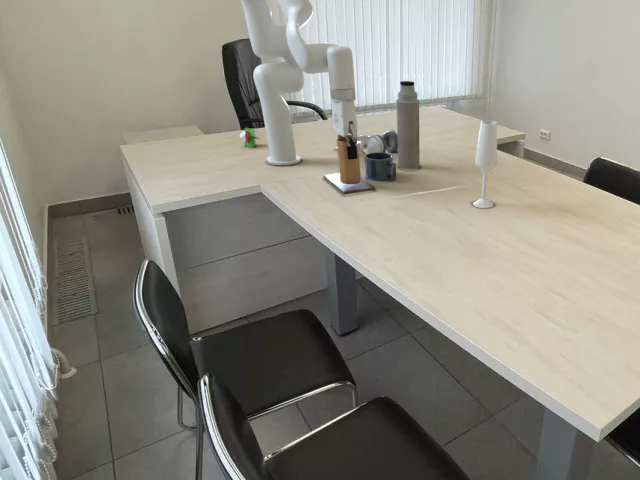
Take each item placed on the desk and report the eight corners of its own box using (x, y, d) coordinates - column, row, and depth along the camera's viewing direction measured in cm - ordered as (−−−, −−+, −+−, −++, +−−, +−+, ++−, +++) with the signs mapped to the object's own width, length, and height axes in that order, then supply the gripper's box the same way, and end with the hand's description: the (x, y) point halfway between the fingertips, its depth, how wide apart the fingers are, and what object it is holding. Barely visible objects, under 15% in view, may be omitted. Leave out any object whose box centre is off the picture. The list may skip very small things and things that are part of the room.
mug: (360, 178, 188) (358, 155, 183) (380, 172, 194) (379, 150, 189) (386, 186, 181) (385, 163, 177) (405, 180, 187) (405, 158, 182)
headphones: (410, 148, 217) (371, 146, 228) (408, 128, 213) (368, 126, 224) (374, 160, 203) (334, 157, 214) (371, 138, 199) (330, 136, 210)
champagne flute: (478, 209, 167) (483, 125, 152) (469, 202, 172) (473, 120, 157) (497, 206, 170) (504, 124, 154) (487, 199, 174) (493, 119, 159)
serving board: (323, 178, 186) (323, 175, 186) (352, 174, 191) (352, 171, 190) (344, 196, 173) (343, 192, 172) (375, 191, 178) (374, 187, 177)
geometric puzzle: (247, 136, 219) (239, 122, 211) (263, 137, 218) (255, 123, 211) (244, 151, 217) (235, 137, 210) (260, 152, 217) (251, 138, 209)
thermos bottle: (421, 165, 202) (421, 80, 184) (416, 171, 196) (415, 84, 178) (401, 163, 203) (399, 79, 186) (395, 169, 197) (393, 82, 179)
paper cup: (338, 179, 180) (333, 138, 172) (356, 177, 183) (352, 136, 175) (345, 185, 176) (341, 142, 168) (363, 182, 179) (360, 140, 170)
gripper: (321, 90, 167) (328, 150, 179) (341, 100, 156) (347, 164, 167) (344, 88, 170) (349, 148, 182) (365, 98, 159) (369, 161, 170)
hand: (348, 155), depth 174 cm, fingers closed on paper cup, 6 cm apart
